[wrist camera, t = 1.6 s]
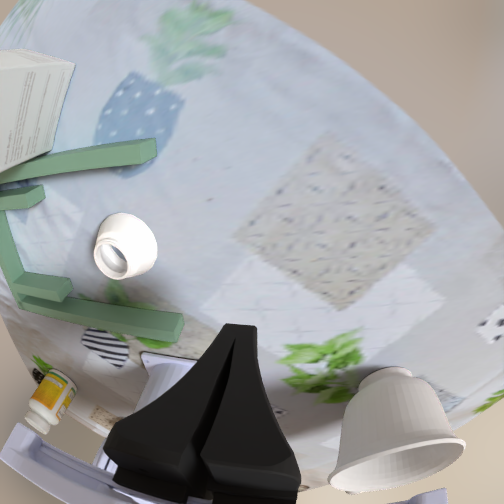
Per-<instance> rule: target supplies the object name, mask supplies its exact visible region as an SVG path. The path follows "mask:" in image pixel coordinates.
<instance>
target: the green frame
mask: <svg viewBox="0 0 504 504" xmlns="http://www.w3.org/2000/svg"><path fill="white" fill-rule="evenodd" d="M156 156H157V150H156V140H155V138H148V139H139V140H131V141H123V142H116V143H109V144H103V145H96V146H90V147H85V148H79V149H74V150H68V151H63V152H59V153H54V154H49V155H45V156H40V157H36V158H32V159H29V160H27V161H25V162H22V163H20V164H18V165H16V166H13V167H11V168H9V169H7V170H5V171H3V172H1V173H0V184H2V183H7V182H12V181H17V180H22V179H28V178H33V177H39V176H45V175H51V174H58V173H64V172H72V171H79V170H87V169H95V168H104V167H113V166H124V165H135V164H142V163H144V162H146V161H148V160H150V159H152V158H154V157H156ZM43 199H45V193H44V189H43V185H36V186H29V187H23V188H16V189H10V190H5V191H0V266H1V269H2V271H3V274H4V276H5V278H6V281H7V283H8V285H9V288H10V290H11V292H12V294H13V296H14V298H15V301H16V303H17V305H18V307H19V309H22V310H26V311H29V312H33V313H36V314H40V315H44V316H47V317H51V318H55V319H59V320H63V321H67V322H71V323H75V324H79V325H84V326H88V327H93V328H97V329H102V330H107V331H112V332H117V333H122V334H127V335H133V336H138V337H144V338H150V339H156V340H162V341H169V342H175V343H176V342H177V340H178V338H179V336H180V333H181V331H182V329H183V327H184V320H183V316H182V314H179V313H170V312H162V311H154V310H146V309H139V308H132V307H125V306H118V305H112V304H105V303H99V302H93V301H87V300H81V299H76V298H70V297H66V296H67V295H68V294H69V293H70V292H71V291H72V290H73V287H72V284H71V281H70V279H69V278H63V277H56V276H49V275H43V274H36V273H29V272H25V271H24V269H23V266H22V263H21V261H20V258H19V255H18V252H17V250H16V247H15V244H14V241H13V238H12V235H11V231H10V228H9V225H8V222H7V218H6V215H5V211H4V210H11V209H23V208H30V207H31V206H33V205H35V204H36V203H38V202H40V201H41V200H43Z"/></svg>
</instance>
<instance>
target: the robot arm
mask: <svg viewBox="0 0 504 504" xmlns="http://www.w3.org/2000/svg"><path fill="white" fill-rule="evenodd" d="M141 358H142V361H143V363H144V365H145V368H146V370H147V373H148V375H149V379H148V381H147V383H146V386H145V388H144V390H143V392H142V394H141V397H140V399H139V401H138V403H137V406H136V408H135V410H134V412H133V414H131V415H130V416H128V417H126V418H124V419H122V420H120V421H118V422H116V423H115V425H114V426H113V428H112V429H111V431H110V433H109V435H108V437H107V438H105V439H104V441H103V442H102V444H101V446H100V448H99V450H98V452H97V454H96V456H95V459H94V461H93V463H92V465H91V464H89V463H87V462H85V461H83V460H80V459H78V458H76V457H74V456H72V455H70V454H68V453H66V452H64V451H62V450H60V449H58V448H56V447H54V446H52V445H51V444H49V443H47V442H45V441H43V440H42V438H41V437H40V436H39V435H37V434H36V433H35V432H34V431H32V430H31V429H29V428H27V427H26V426H24V425H23V424H21V423H19V422H18V423H17V424H16V426H15V428H14V429H13V431H12V433H11V435H10V436H9V438H8V440H7V442H6V444H5V445H4V447H3V449H2V451H1V453H0V459H1V460H2V461H4V462H5V463H6V464H8V465H9V466H10V467H12V468H13V469H14V470H16V471H17V472H18V473H20V474H21V475H22V476H24V477H25V478H27V479H28V480H30V481H31V482H33V483H34V484H36V485H37V486H38V487H40V488H42V489H43V490H45V491H46V492H48V493H49V494H51V495H53V496H54V497H56V498H58V499H60V500H61V501H63V502H65V503H67V504H296V500H297V493H298V488H299V486H300V484H301V474H300V470H299V467H298V464H297V461H296V458H295V455H294V452H293V450H292V449H291V447H290V445H289V444H288V442H287V440H286V438H285V436H284V435H283V433H282V431H281V429H280V427H279V424H278V422H277V420H276V418H275V415H274V413H273V411H272V408H271V406H270V403H269V400H268V398H267V395H266V392H265V388H264V385H263V382H262V378H261V374H260V369H259V364H258V359H257V328H256V327H255V326H251V325H239V324H227V323H226V324H225V325H224V326H223V328H222V329H221V331H220V332H219V334H218V335H217V337H216V338H215V340H214V341H213V342H212V344H211V345H210V346H209V348H208V349H207V350H206V351H205V353H204V354H203V355H202V356H201V358H200V359H199V360H198V361H195V360H188V359H181V358H175V357H169V356H163V355H157V354H152V353H146V352H143V353H142V354H141ZM212 499H213V500H212ZM389 504H448V498H447V490H446V488H441V489H437V490H434V491H430V492H425V493H422V494H418V495H416V496H414V497H412V498H411V499H410V500H406V501H401V502H395V503H389Z"/></svg>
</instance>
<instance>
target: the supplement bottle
mask: <svg viewBox="0 0 504 504" xmlns="http://www.w3.org/2000/svg"><path fill="white" fill-rule="evenodd" d="M76 392H77V388H76V386H75V384H74V383H73V382H72V381H71V380H70V379H69V378H68V377H67V376H66V375H64V374H63V373H61V372H60V371H58V370H55V369H51V370H49V372H48V373H47V374H46V376H45V377H44V379H43V380H42V382H41V383H40V385H39V386H38V388H37V389H36V391H35V392H34V394H33V396H32V397H31V398H30V400H29V406H30V408H31V411H28V412H27V413H26V415H25V419H26V420H27V422H28V423H29V424H31V425H32V426H33V427H34V428H36V429H37V430H38V431H40V432H42V433H44V434H47V433H48V431H49V430H50V424H51V425H56V424H58V423H59V422H60V420H61V418H62V416H63V415H64V413H65V411H66V409H67V408H68V406H69V404H70V403H71V401H72V399H73V397H74V396H75V394H76Z"/></svg>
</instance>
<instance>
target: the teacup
mask: <svg viewBox="0 0 504 504" xmlns="http://www.w3.org/2000/svg"><path fill="white" fill-rule="evenodd" d="M465 447H466V443H465V441H463V440H462V439H459V438H457V437H456V435H455V434H454V432H453V430H452V428H451V426H450V424H449V422H448V419H447V417H446V414H445V412H444V410H443V407H442V405H441V403H440V401H439V399H438V397H437V395H436V393H435V391H434V390H433V388H432V387H431V386H430V385H429V384H428V383H427V382H426V381H424V380H422V379H420V378H417V377H413V376H412V374H411V372H410V371H409V370H407V369H405V368H401V367H389V368H384V369H381V370H378V371H376V372H374V373H372V374H370V375H368V376H367V377H366V378H365V379H363V380H362V382H361V383H360V385H359V388H358V393H357V394H356V395H355V396H353V398H352V399H351V400H350V402H349V403H348V405H347V407H346V409H345V413H344V416H343V422H342V429H341V438H340V447H339V455H338V460H337V465H336V467H335V470H334V471H333V472H332V473H331V474H330V475H329V476H328V478H327V480H328V483H329V484H330V485H332V486H333V487H334V488H336V489H339V490H344V491H345V492H346V493H348V494H351V495H355V494H358V493H360V492H364V491H365V492H366V491H378V490H384V489H390V488H395V487H399V486H403V485H407V484H410V483H413V482H416V481H419V480H421V479H424V478H426V477H429V476H431V475H433V474H435V473H437V472H439V471H441V470H443V469H444V468H446V467H448V466H449V465H451V464H452V463H453V462H454V461H456V460H457V459H458V458H459V457H460V456H461V454H462V453H463V451H464V449H465Z"/></svg>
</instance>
